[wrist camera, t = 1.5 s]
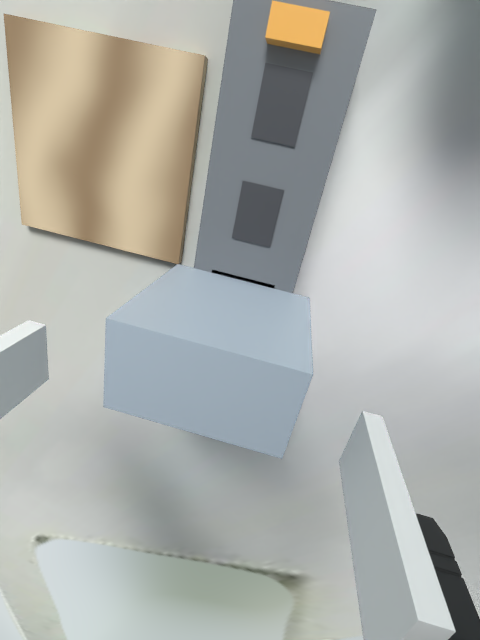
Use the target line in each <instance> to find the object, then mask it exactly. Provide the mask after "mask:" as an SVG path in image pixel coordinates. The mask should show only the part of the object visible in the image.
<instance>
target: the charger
mask: <svg viewBox="0 0 480 640" xmlns="http://www.w3.org/2000/svg"><path fill="white" fill-rule="evenodd" d="M268 285H269V284H267V283H263V282H260V281H256V280H252V279H248V278H244V277H240V276H236V275H232V274H228V273H224V272H222V273H221V274H220V275H219V274H215V273H211V272H207V271H203V270H199V269H195V268H191V267H188V266H184V265H180V264H177V265H176V266H174V267H173V268H172V269H170V270H169V271H168V272H166V273H165V274H164V275H163V276H161V277H160V278H159V279H157V280H156V281H155V282H153V283H152V284H151V285H149V286H148V287H147V288H145V289H144V290H143V291H141V292H140V293H139V294H137V295H136V296H135V297H133V298H132V299H131V300H129V301H128V302H127V303H125V304H124V305H123V306H121V307H120V308H119V309H117V310H116V311H115V312H113V313H112V314H111V315H110V316H108V317H107V318H106V333H105V370H104V407H105V408H109V409H112V410H116V411H119V412H123V413H126V414H130V415H133V416H136V417H140V418H143V419H147V420H150V421H154V422H157V423H160V424H164V425H167V426H171V427H174V428H178V429H181V430H184V431H188V432H191V433H195V434H198V435H202V436H205V437H209V438H212V439H215V440H219V441H222V442H226V443H229V444H233V445H236V446H239V447H243V448H246V449H250V450H253V451H257V452H260V453H263V454H267V455H270V456H274V457H277V458H281V459H282V458H283V455H284V452H285V449H286V447H287V444H288V441H289V439H290V436H291V433H292V430H293V428H294V425H295V422H296V420H297V417H298V414H299V411H300V409H301V406H302V403H303V401H304V398H305V395H306V392H307V390H308V387H309V384H310V382H311V379H312V376H313V361H312V340H311V318H310V298H309V297H305V296H301V295H297V294H293V293H289V292H286V291H282V290H278V289H274V288H270V287H268Z"/></svg>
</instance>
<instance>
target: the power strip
mask: <svg viewBox="0 0 480 640" xmlns="http://www.w3.org/2000/svg"><path fill="white" fill-rule="evenodd" d="M375 13H376V9H371V8H366V7H360V6H355V5H350V4H345V3H340V2H334V1H329V0H233V6H232V13H231V19H230V26H229V33H228V40H227V47H226V53H225V60H224V67H223V74H222V80H221V87H220V94H219V101H218V108H217V114H216V121H215V128H214V135H213V141H212V148H211V155H210V162H209V169H208V175H207V182H206V189H205V196H204V202H203V209H202V216H201V223H200V230H199V236H198V243H197V250H196V257H195V263H194V268H195V269H199V270H203V271H207V272H211V273H215V274H219V275H220V274H221V273H222V272H224V273H228V274H232V275H236V276H240V277H244V278H248V279H252V280H256V281H260V282H263V283H267V284H269V285H268V287H270V288H274V289H278V290H282V291H286V292H289V293H293V290H294V287H295V284H296V280H297V277H298V274H299V270H300V267H301V263H302V260H303V257H304V253H305V250H306V246H307V243H308V240H309V236H310V233H311V230H312V226H313V223H314V219H315V216H316V213H317V209H318V206H319V202H320V199H321V196H322V192H323V189H324V186H325V182H326V179H327V175H328V172H329V169H330V165H331V162H332V158H333V155H334V152H335V148H336V145H337V142H338V138H339V135H340V131H341V128H342V125H343V121H344V118H345V114H346V111H347V108H348V104H349V101H350V97H351V94H352V91H353V87H354V84H355V81H356V77H357V74H358V70H359V67H360V64H361V60H362V57H363V53H364V50H365V47H366V43H367V40H368V37H369V33H370V30H371V26H372V23H373V20H374V16H375Z"/></svg>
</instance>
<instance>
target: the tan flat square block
mask: <svg viewBox="0 0 480 640" xmlns="http://www.w3.org/2000/svg"><path fill="white" fill-rule="evenodd" d="M4 23H5V35H6V46H7V58H8V69H9V81H10V92H11V104H12V116H13V127H14V139H15V150H16V162H17V173H18V185H19V197H20V208H21V220H22V225H26V226H30V227H34V228H38V229H42V230H46V231H50V232H54V233H58V234H62V235H65V236H69V237H73V238H77V239H81V240H85V241H89V242H93V243H97V244H101V245H105V246H109V247H113V248H116V249H120V250H124V251H128V252H132V253H136V254H140V255H144V256H148V257H152V258H156V259H160V260H163V261H167V262H171V263H175V264H180V263H181V262H182V254H183V246H184V238H185V231H186V223H187V215H188V208H189V200H190V192H191V184H192V177H193V169H194V161H195V153H196V146H197V138H198V130H199V122H200V115H201V107H202V99H203V91H204V84H205V76H206V68H207V60H208V59H207V57H206V56H204V55H200V54H195V53H190V52H185V51H180V50H176V49H171V48H166V47H161V46H156V45H152V44H147V43H142V42H137V41H132V40H128V39H123V38H118V37H113V36H108V35H104V34H99V33H94V32H89V31H84V30H80V29H75V28H70V27H65V26H61V25H56V24H51V23H46V22H41V21H37V20H32V19H27V18H22V17H17V16H13V15H8V14H4Z"/></svg>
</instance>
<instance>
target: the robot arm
mask: <svg viewBox="0 0 480 640" xmlns="http://www.w3.org/2000/svg"><path fill="white" fill-rule="evenodd" d="M48 379H49V375H48V356H47V338H46V325H44V324H41V323H37V322H33V321H29V320H28V321H26V322H24V323H22V324H21V325H19V326H17V327H15V328H13V329H11V330H10V331H8V332H6V333H4V334H2V335H0V419H1V418H2V417H3V416H5V415H6V414H7V413H8V412H9V411H11V410H12V409H13V408H14V407H15V406H17V405H18V404H19V403H20V402H22V401H23V400H24V399H25V398H26V397H28V396H29V395H30V394H31V393H33V392H34V391H35V390H36V389H37V388H39V387H40V386H41V385H42V384H43V383H45V382H46V381H47V380H48ZM339 464H340V471H341V479H342V486H343V493H344V501H345V508H346V515H347V522H348V530H349V537H350V544H351V551H352V559H353V566H354V573H355V581H356V588H357V595H358V602H359V610H360V617H361V624H362V631H363V639H364V640H480V619H479V616H478V614H477V611H476V609H475V606H474V604H473V601H472V599H471V596H470V594H469V591H468V589H467V586H466V584H465V581H464V579H463V578H461V575H462V574H461V572H460V569H459V567H458V564H457V562H456V561H455V560H454V558H455V557H454V554H453V552H452V549H451V547H450V544H449V542H448V539H447V537H446V536H445V534H444V533H443V532H442V530H441V529H440V527H439V526H438V525H437V523H436V522H435V521H434V519H433V518H430V517H427V516H423V515H420V514H416V513H415V510H414V508H413V505H412V502H411V499H410V496H409V493H408V490H407V487H406V484H405V481H404V478H403V475H402V472H401V469H400V466H399V464H398V461H397V458H396V455H395V452H394V449H393V446H392V443H391V440H390V437H389V434H388V431H387V428H386V425H385V422H384V420H383V417H382V416H380V415H376V414H372V413H369V412H365V411H362V413H361V415H360V417H359V420H358V422H357V424H356V426H355V428H354V430H353V432H352V435H351V437H350V439H349V441H348V443H347V445H346V447H345V449H344V452H343V454H342V456H341V458H340V460H339Z"/></svg>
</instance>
